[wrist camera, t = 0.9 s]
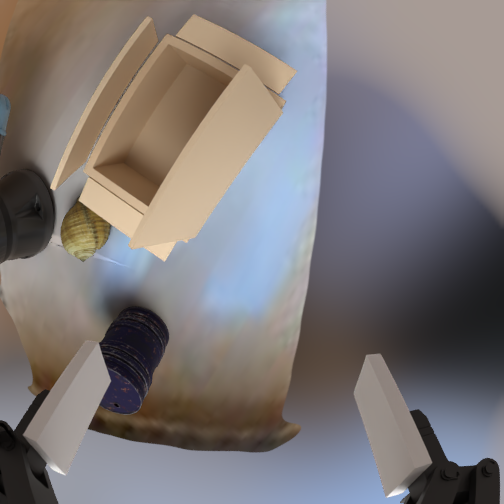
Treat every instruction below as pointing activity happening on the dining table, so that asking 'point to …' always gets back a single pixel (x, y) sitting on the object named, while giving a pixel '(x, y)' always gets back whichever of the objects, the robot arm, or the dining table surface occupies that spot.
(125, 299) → the dining table surface
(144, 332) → the dark blue barrel
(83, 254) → the seashell
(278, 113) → the flap
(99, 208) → the carton
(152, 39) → the flap
